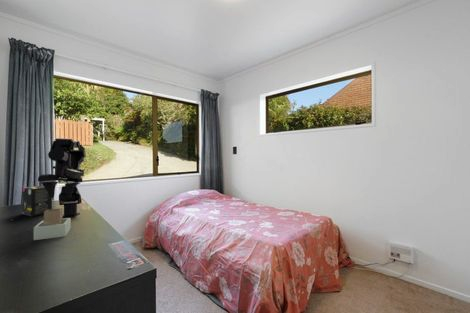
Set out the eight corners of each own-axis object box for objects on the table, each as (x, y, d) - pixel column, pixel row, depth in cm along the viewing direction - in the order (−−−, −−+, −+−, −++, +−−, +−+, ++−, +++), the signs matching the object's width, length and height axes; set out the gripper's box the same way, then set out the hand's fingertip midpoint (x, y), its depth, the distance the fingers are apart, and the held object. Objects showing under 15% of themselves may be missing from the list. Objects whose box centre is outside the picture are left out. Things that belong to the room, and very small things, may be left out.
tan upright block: (47, 231, 90) (47, 209, 90) (62, 229, 92) (62, 208, 92) (43, 234, 86) (44, 211, 86) (59, 232, 89) (60, 210, 89)
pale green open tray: (42, 232, 91) (42, 220, 91) (70, 229, 96) (70, 217, 96) (33, 240, 83) (33, 227, 83) (65, 236, 87) (65, 224, 87)
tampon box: (21, 214, 119) (21, 187, 119) (42, 210, 128) (42, 185, 128) (30, 216, 114) (31, 188, 114) (52, 212, 122) (52, 186, 122)
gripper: (62, 160, 95) (60, 197, 92) (93, 165, 113) (91, 196, 111) (38, 162, 95) (35, 198, 93) (72, 167, 114) (70, 197, 111)
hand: (60, 197), depth 102 cm, fingers open, 9 cm apart
